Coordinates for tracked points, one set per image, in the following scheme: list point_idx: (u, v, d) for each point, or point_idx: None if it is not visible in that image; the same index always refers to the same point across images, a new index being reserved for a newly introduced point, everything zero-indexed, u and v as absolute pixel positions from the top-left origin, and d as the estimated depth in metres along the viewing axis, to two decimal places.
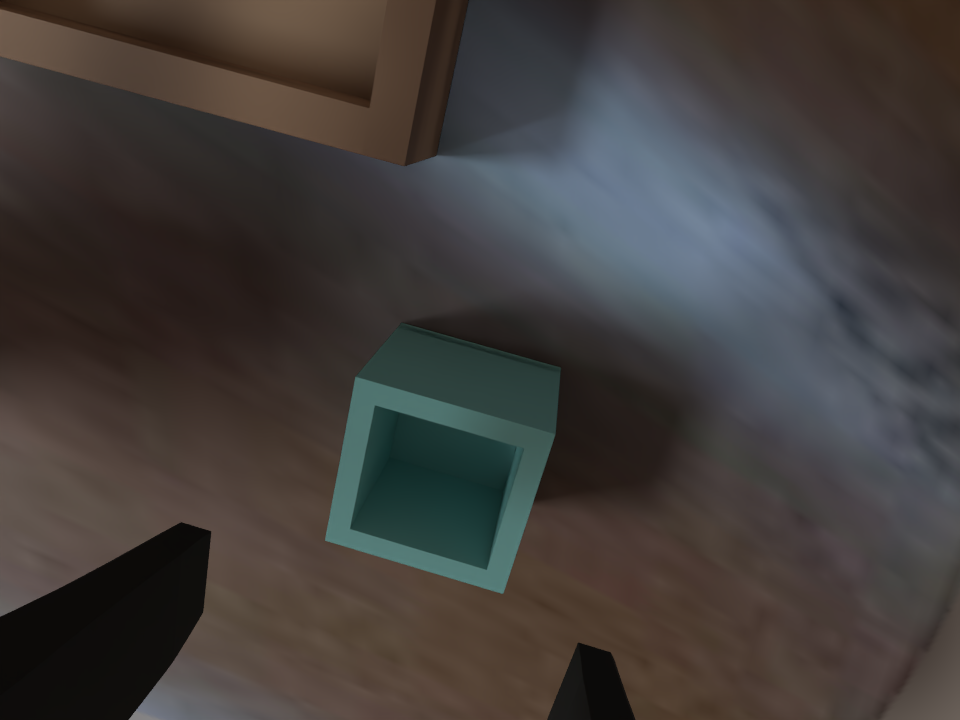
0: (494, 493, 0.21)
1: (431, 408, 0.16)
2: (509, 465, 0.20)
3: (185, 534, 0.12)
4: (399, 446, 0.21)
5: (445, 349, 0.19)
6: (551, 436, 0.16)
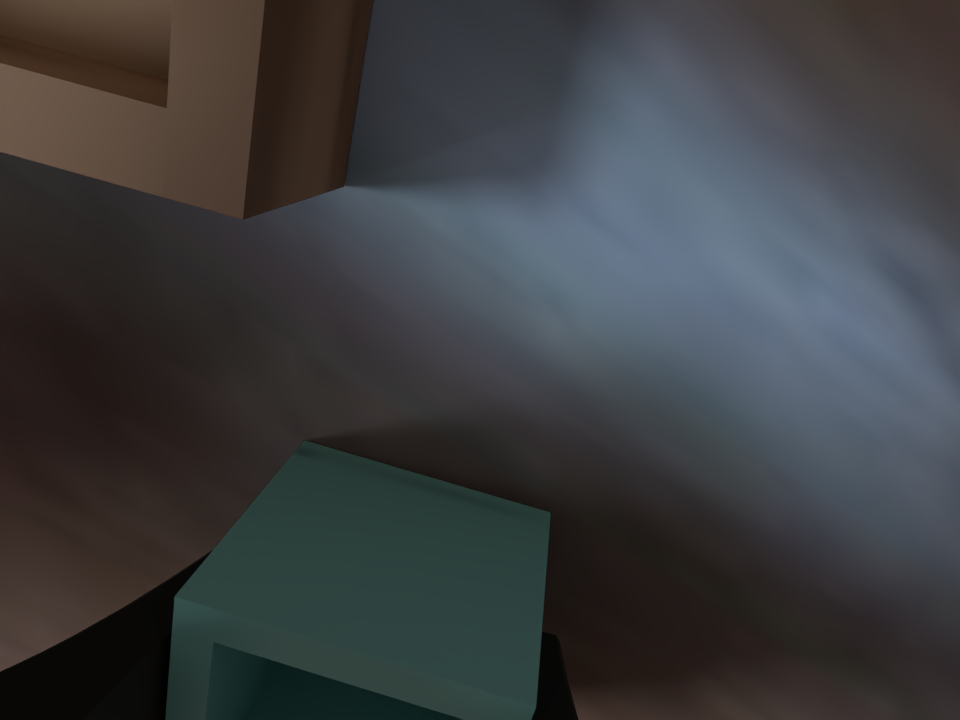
0: None
1: (312, 653, 0.09)
2: None
3: None
4: None
5: (364, 496, 0.12)
6: (528, 709, 0.09)
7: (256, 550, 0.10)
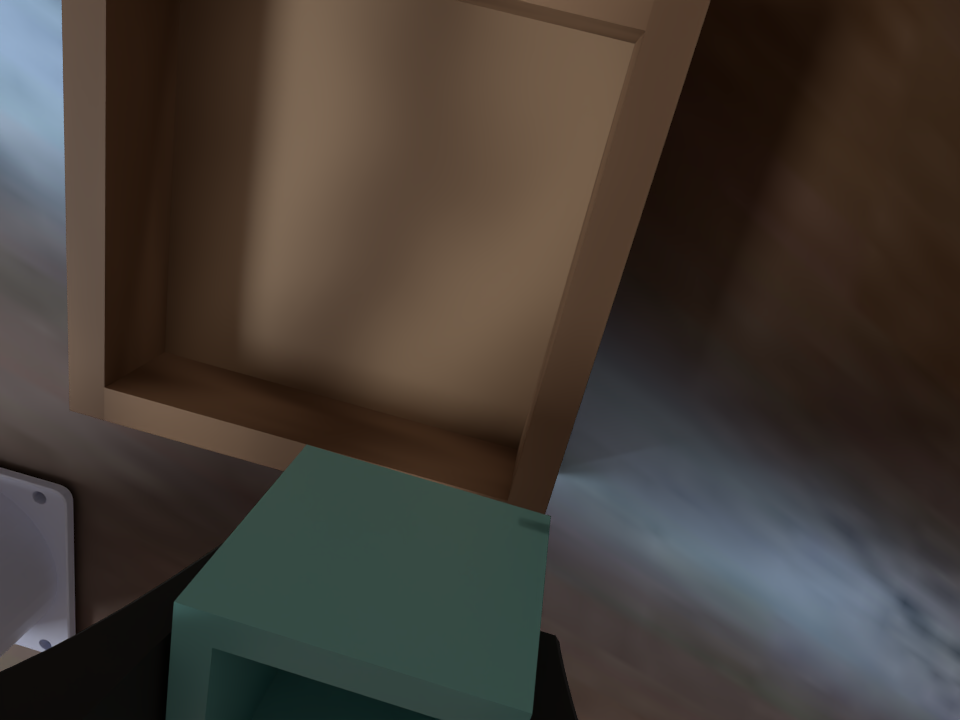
0: None
1: (309, 658, 0.09)
2: None
3: None
4: None
5: (364, 502, 0.12)
6: (524, 716, 0.09)
7: (255, 556, 0.10)
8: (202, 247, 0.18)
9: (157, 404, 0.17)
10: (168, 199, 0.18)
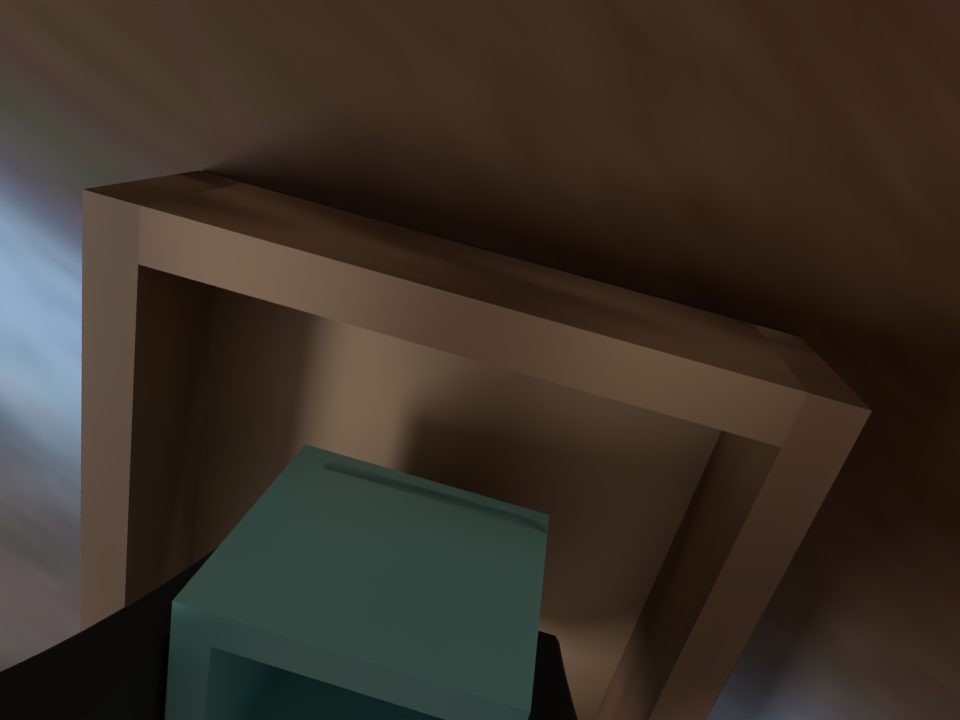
0: None
1: (308, 657, 0.09)
2: None
3: None
4: None
5: (362, 501, 0.12)
6: (523, 714, 0.09)
7: (254, 555, 0.10)
8: None
9: None
10: (195, 491, 0.16)
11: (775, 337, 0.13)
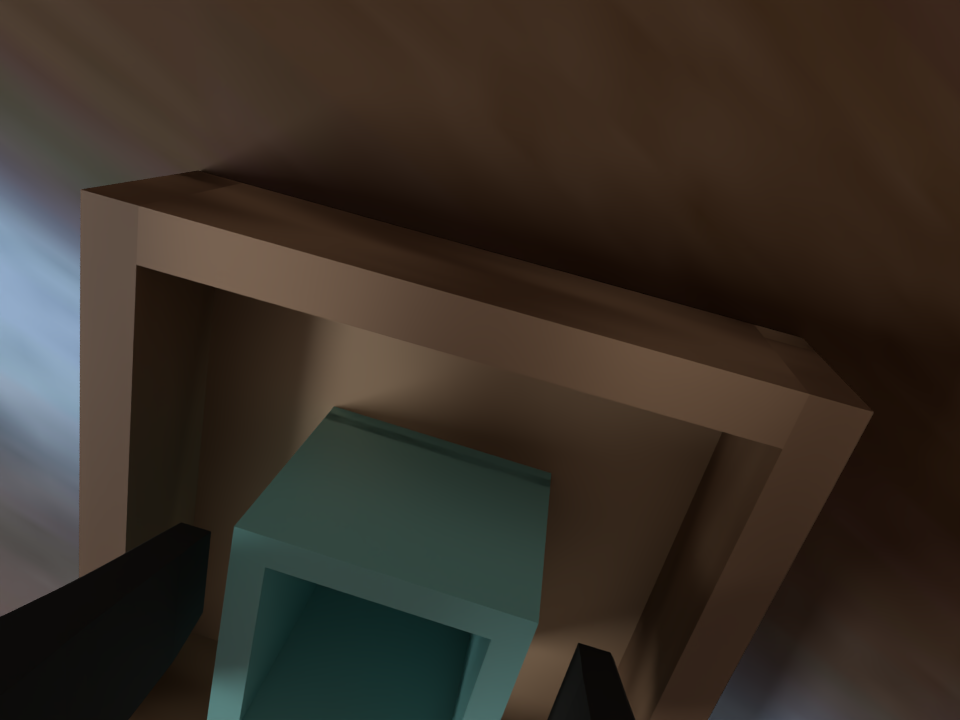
0: (458, 638, 0.15)
1: (349, 576, 0.10)
2: None
3: (185, 534, 0.12)
4: None
5: (388, 455, 0.13)
6: (532, 625, 0.10)
7: (298, 494, 0.11)
8: (230, 536, 0.16)
9: None
10: (194, 492, 0.16)
11: (776, 338, 0.13)
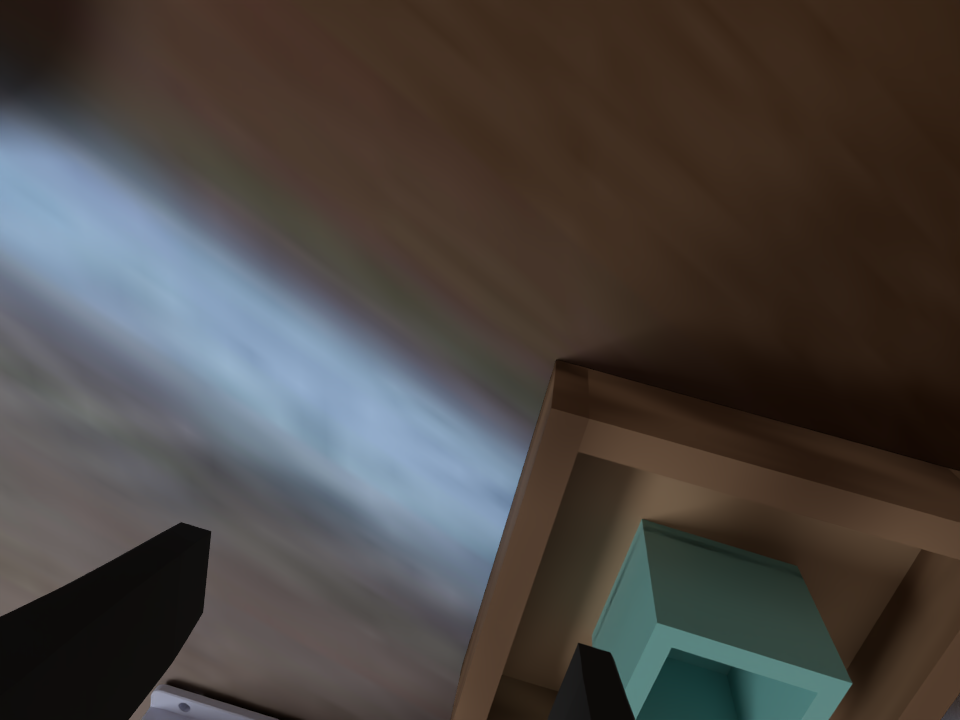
0: (721, 680, 0.21)
1: (729, 653, 0.16)
2: None
3: (185, 534, 0.12)
4: None
5: (698, 559, 0.19)
6: (847, 684, 0.16)
7: (672, 595, 0.17)
8: (543, 605, 0.22)
9: None
10: None
11: None
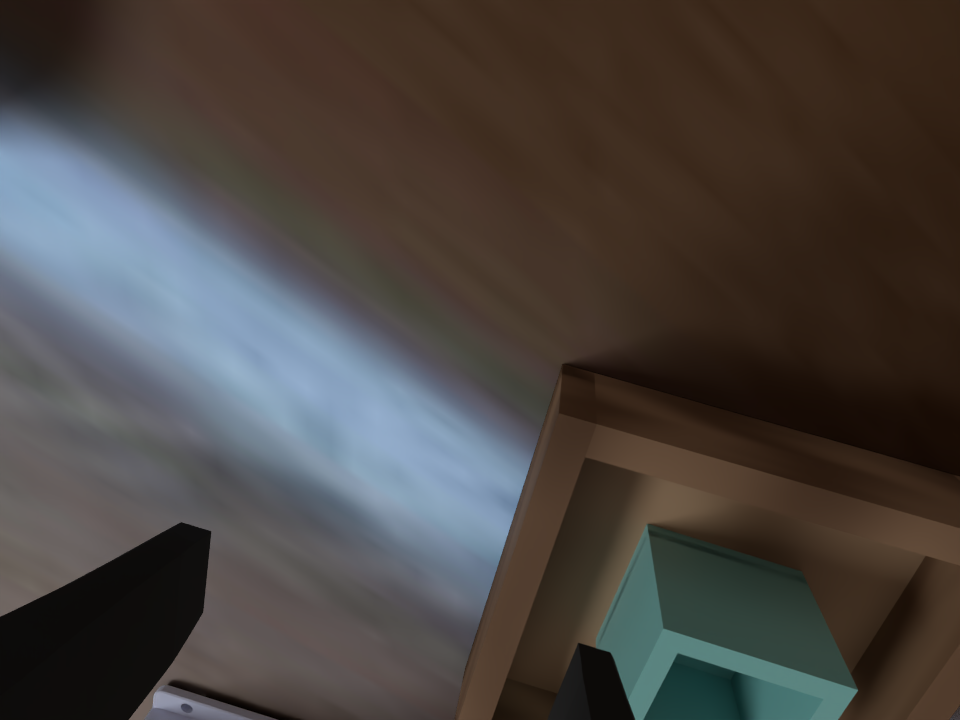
0: (725, 685, 0.21)
1: (735, 659, 0.16)
2: None
3: (185, 534, 0.12)
4: None
5: (703, 564, 0.19)
6: (853, 691, 0.16)
7: (678, 601, 0.18)
8: (547, 609, 0.22)
9: None
10: None
11: None
